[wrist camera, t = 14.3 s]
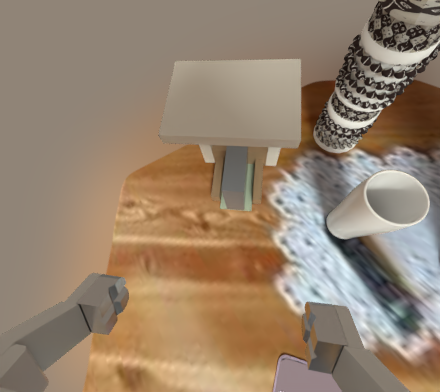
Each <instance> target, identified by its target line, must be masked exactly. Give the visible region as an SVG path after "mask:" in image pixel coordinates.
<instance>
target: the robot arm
mask: <svg viewBox="0 0 440 392" xmlns="http://www.w3.org/2000/svg"><path fill="white" fill-rule="evenodd" d="M125 284H126V281H125V278H123V277H117V276H111V275H105V274H98V273H92V274H90V275H89V276H88V277H87V278H86V279H85V280H84V281H83V282H82V284H81V285H80V286H79V287H78V288H77V289H76V290H75V291H74V292H73V294H71V296H70V297H69V298H68V299H67V300H66V301H65V302H60V303H58V304H56V305H55V306H53V307H51V308H49V309H47V310H45V311H43V312H42V313H40V314H38V315H36V316H34V317H32V318H31V319H29V320H27V321H25V322H23V323H22V324H19V325H18V326H16V327H14V328H13V329H10V330H8V331H7V332H5V333H3V334H1V335H0V392H43V391H44V390H45V388H46V387H47V386H48V379H47V377H46V376H45V374H44V373H43V371H44V370H46V369H47V368H48V367H50V366H51V365H52V364H53V363H55V362H56V361H57V360H58V359H60V358H61V357H62V356H63V355H65V354H66V353H67V352H68V351H69V350H71V349H72V348H73V347H74V346H76V345H77V344H78V343H79V342H81V341H82V340H83V339H84V338H86V337H87V336H88V335H89V334H90V332H92V333H99V334H107V335H109V333H110V332H111V330H112V329H113V327H114V325H115V324H116V322H117V315H118V314H120V313H121V312H123V310H124V309H125V307H126V305H127V302H128V299H129V292H128V289H127V288H126V287H124V285H125ZM305 312H306V313H305V314H303V316H302V325H301V328H302V336H303V340H304V341H305V343H306V344H307V345H306V349H305V354H306V360H307V366H308V370H312V371H317V372H322V373H327V374H332V377H333V379H334V380H335V382H336V383H337V385H338V386H339V388H340V389H341V391H342V392H410V391H409V390H408V389H407V388H406V387H405V386H404V385H403V384H402V383H401V382H400V381H399V380H398V379H397V378H396V377H395V376H394V375H393V374H392V373H391V372H390V371H389V370H388V369H387V368H386V367H385V366H384V365H383V364H382V363H381V362H380V360H379V359H378V358H377V357H376V356H375V355H374V354H373V353H372V352H371V351H370V350H367V349H364V346H363V344H362V341H361V339H360V336H359V334H358V331H357V329H356V326H355V324H354V321H353V319H352V316H351V314H350V311H349V309H348V308H347V307H345V306H338V305H332V304H324V303H315V302H306V304H305Z"/></svg>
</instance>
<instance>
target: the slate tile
mask: <svg viewBox="0 0 440 392" xmlns="http://www.w3.org/2000/svg"><path fill="white" fill-rule="evenodd" d="M247 173H248V146H227V148H226V156H225V164H224V173H223V181H222V189H221V191H222V194H223V197H224V200H225V204H226V207H227V209H234V210H244V209H245V197H246V185H247Z"/></svg>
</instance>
